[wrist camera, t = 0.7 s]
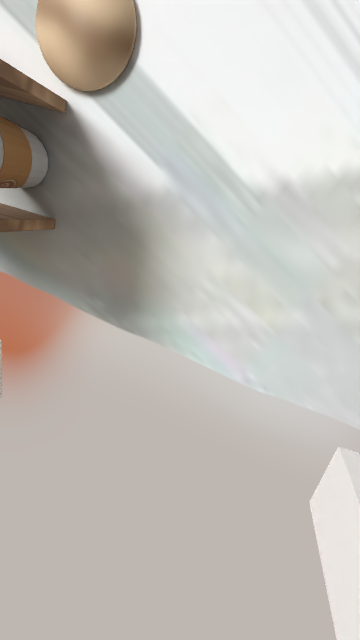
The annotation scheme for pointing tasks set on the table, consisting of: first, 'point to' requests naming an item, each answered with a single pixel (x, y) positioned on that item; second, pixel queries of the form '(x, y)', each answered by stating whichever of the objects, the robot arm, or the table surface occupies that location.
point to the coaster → (86, 39)
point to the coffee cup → (20, 157)
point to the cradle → (22, 88)
